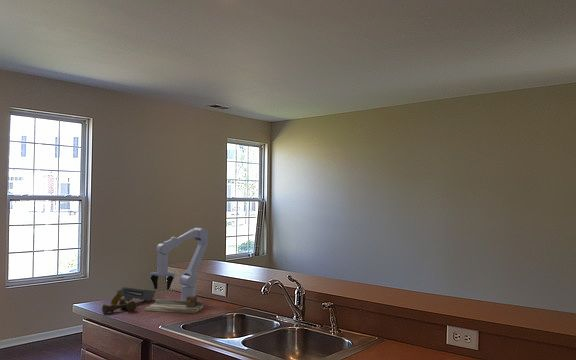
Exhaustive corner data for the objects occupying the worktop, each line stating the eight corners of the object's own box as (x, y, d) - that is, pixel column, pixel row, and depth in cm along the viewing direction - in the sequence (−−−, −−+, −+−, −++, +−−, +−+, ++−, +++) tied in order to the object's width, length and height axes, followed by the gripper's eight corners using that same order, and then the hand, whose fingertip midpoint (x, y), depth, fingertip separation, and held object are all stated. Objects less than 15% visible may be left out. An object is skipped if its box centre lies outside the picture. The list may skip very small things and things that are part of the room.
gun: (148, 315, 287) (157, 290, 292) (111, 305, 271) (121, 279, 275) (145, 314, 289) (154, 290, 294) (108, 304, 273) (118, 278, 278)
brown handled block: (189, 305, 270) (190, 295, 271) (196, 305, 270) (196, 295, 270) (182, 309, 261) (182, 299, 261) (189, 309, 260) (190, 299, 260)
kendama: (99, 313, 258) (134, 306, 272) (107, 317, 251) (143, 310, 266) (99, 302, 258) (134, 295, 272) (107, 305, 251) (143, 299, 266)
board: (155, 305, 276) (156, 299, 276) (203, 308, 271) (203, 301, 271) (145, 310, 263) (145, 304, 263) (194, 313, 258) (194, 306, 258)
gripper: (147, 265, 272) (146, 289, 272) (171, 266, 270) (171, 291, 269) (153, 263, 279) (152, 287, 279) (176, 264, 277) (176, 288, 276)
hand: (162, 289), depth 275 cm, fingers open, 7 cm apart
